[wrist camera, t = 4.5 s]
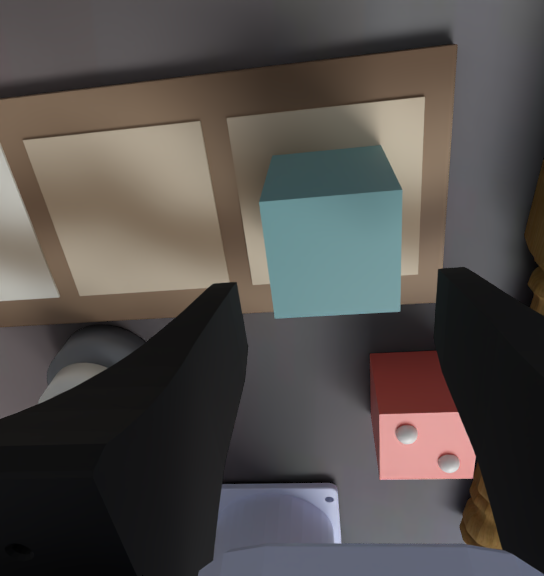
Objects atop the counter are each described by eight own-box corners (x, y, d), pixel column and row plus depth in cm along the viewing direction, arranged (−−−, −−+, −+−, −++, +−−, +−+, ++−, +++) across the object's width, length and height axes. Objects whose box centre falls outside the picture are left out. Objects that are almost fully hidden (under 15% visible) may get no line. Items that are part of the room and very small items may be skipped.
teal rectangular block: (381, 244, 19) (400, 311, 15) (283, 251, 20) (274, 318, 16) (380, 145, 18) (402, 189, 13) (272, 155, 18) (258, 202, 14)
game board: (437, 296, 21) (440, 303, 21) (-74, 326, 24) (-83, 333, 24) (453, 43, 16) (458, 44, 16) (-191, 121, 19) (-205, 124, 19)
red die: (450, 412, 24) (475, 487, 21) (370, 414, 25) (381, 488, 21) (456, 349, 23) (485, 419, 19) (369, 353, 23) (380, 422, 19)
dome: (145, 425, 23) (129, 465, 21) (68, 427, 24) (45, 467, 22) (123, 360, 21) (103, 398, 19) (40, 364, 22) (11, 401, 20)
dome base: (169, 399, 26) (160, 425, 24) (81, 402, 26) (66, 427, 25) (146, 322, 23) (134, 344, 22) (49, 327, 24) (31, 349, 22)
